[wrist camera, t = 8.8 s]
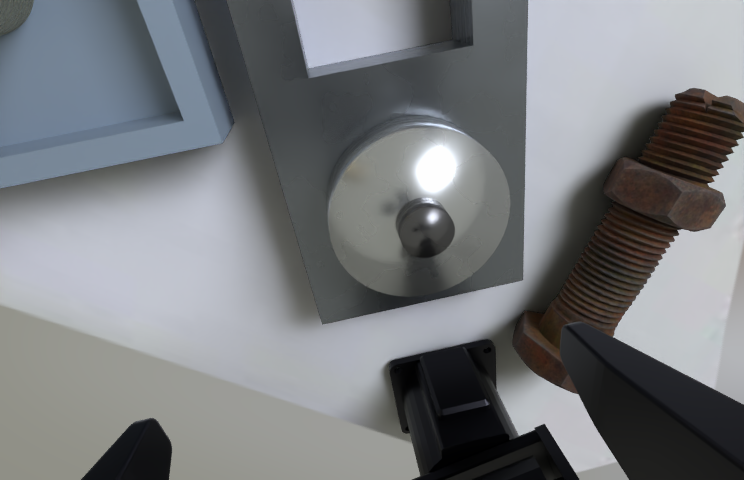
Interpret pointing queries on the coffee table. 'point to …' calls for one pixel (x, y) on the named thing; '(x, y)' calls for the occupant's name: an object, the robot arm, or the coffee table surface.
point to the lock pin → (13, 14)
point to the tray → (105, 87)
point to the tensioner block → (397, 156)
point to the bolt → (639, 224)
